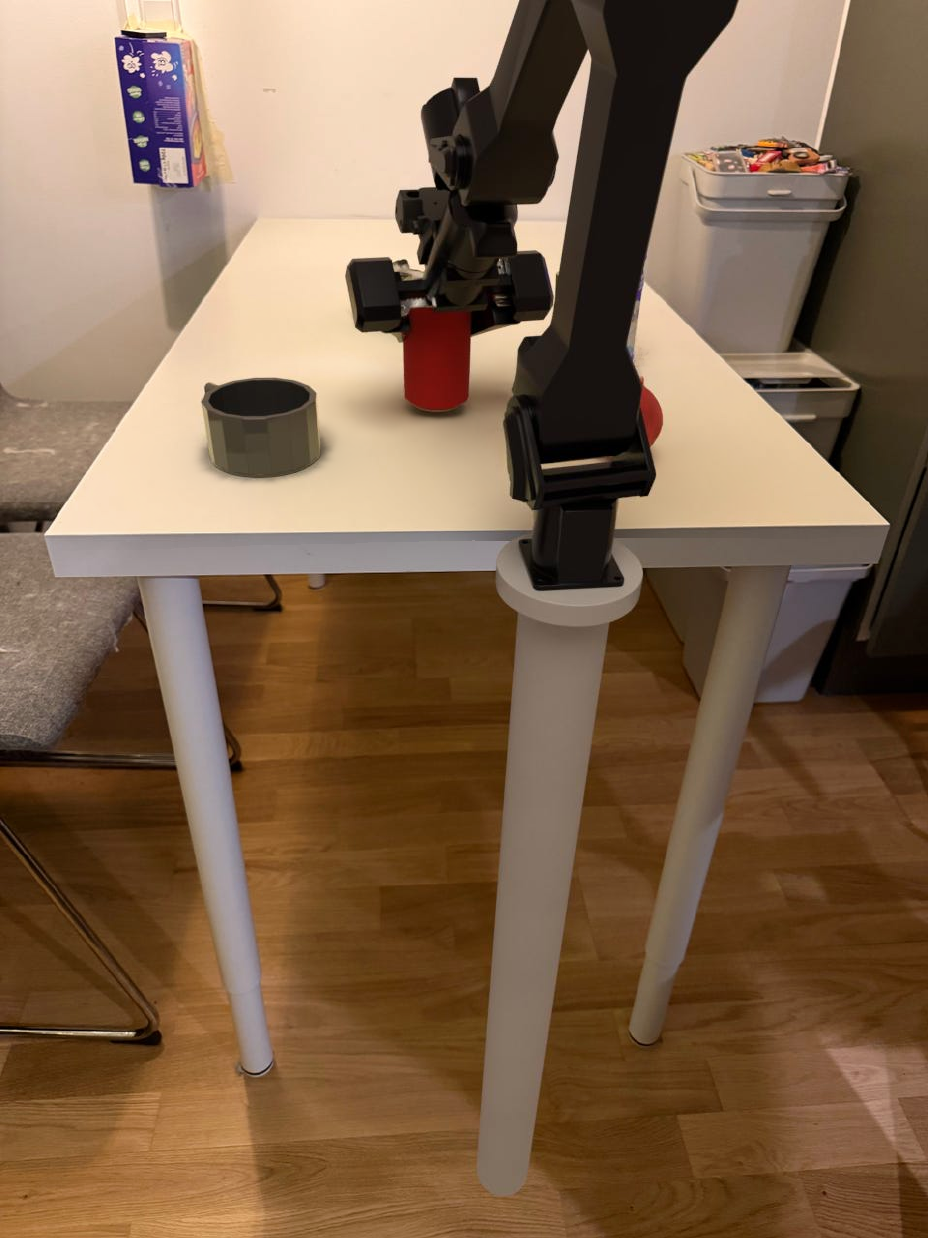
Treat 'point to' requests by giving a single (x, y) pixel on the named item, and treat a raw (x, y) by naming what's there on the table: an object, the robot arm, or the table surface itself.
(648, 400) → the onion
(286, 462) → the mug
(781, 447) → the table surface
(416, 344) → the beverage can
